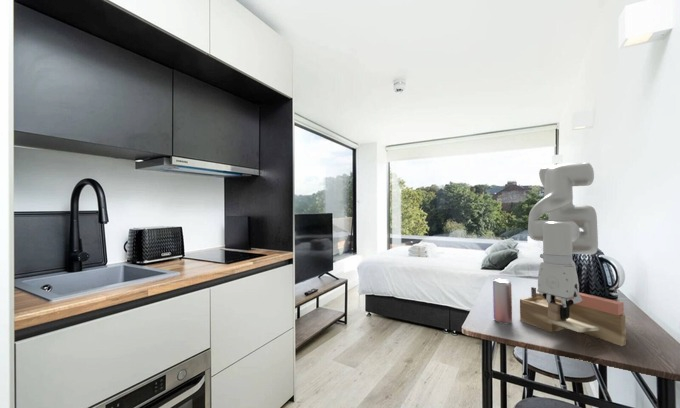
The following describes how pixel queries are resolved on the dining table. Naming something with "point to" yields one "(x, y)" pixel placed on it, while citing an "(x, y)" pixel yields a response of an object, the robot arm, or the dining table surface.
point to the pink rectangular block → (601, 304)
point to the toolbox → (609, 324)
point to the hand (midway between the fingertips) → (558, 316)
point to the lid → (567, 320)
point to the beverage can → (502, 301)
